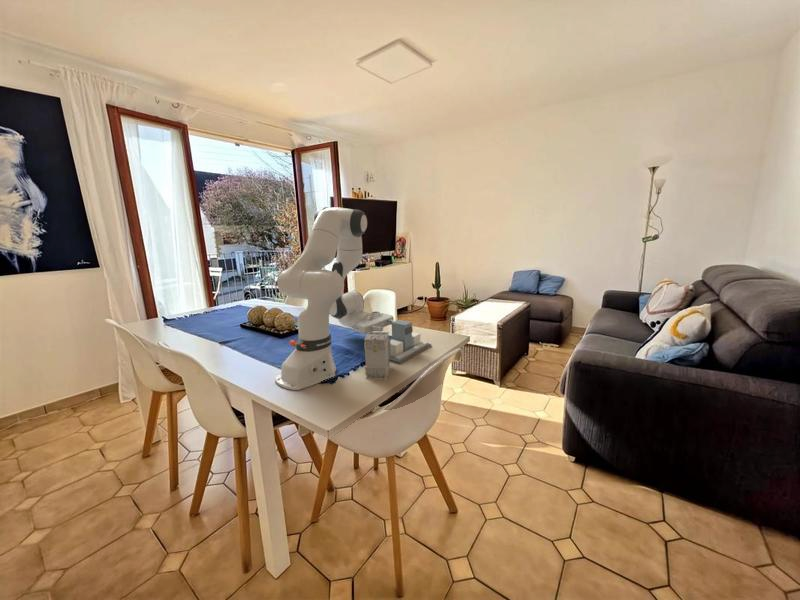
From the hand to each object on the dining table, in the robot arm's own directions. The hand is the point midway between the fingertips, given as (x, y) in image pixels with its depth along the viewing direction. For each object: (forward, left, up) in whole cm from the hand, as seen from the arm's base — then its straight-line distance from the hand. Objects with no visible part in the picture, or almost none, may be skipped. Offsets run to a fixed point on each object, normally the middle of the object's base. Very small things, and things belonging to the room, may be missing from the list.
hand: (388, 326), depth 146 cm
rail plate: (0, -8, -10) cm, 12 cm away
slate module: (0, -7, -9) cm, 11 cm away
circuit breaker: (-21, -12, -10) cm, 26 cm away
